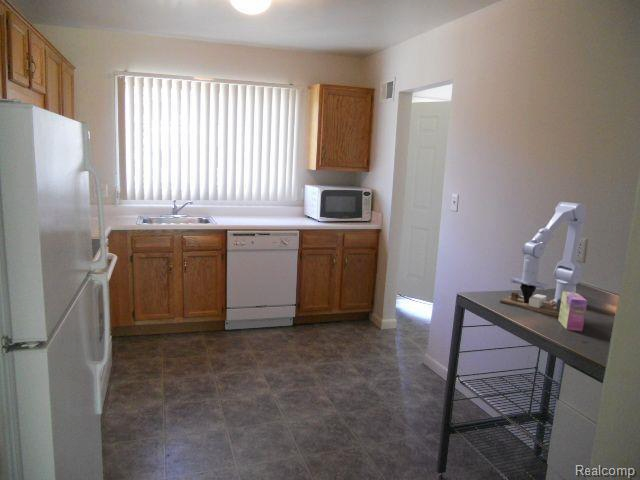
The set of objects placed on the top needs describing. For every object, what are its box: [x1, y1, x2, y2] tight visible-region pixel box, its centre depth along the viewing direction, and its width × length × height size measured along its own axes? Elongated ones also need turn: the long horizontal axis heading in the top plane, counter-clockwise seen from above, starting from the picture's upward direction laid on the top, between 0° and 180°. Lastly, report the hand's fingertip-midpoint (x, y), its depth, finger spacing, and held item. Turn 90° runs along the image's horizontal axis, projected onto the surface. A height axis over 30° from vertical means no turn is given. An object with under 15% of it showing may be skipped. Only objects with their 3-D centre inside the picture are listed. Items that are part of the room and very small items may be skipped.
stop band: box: [548, 299, 555, 308], centre depth 195 cm, size 3×1×3 cm, turn 138°
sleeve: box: [529, 293, 548, 308], centre depth 198 cm, size 9×4×3 cm, turn 138°
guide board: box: [499, 290, 559, 318], centre depth 199 cm, size 11×26×4 cm, turn 48°
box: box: [557, 291, 588, 332], centre depth 177 cm, size 10×6×12 cm, turn 168°
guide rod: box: [517, 294, 557, 307], centre depth 198 cm, size 1×19×1 cm, turn 48°
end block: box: [556, 297, 562, 312], centre depth 192 cm, size 4×3×5 cm
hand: (526, 302), depth 198 cm, fingers closed
